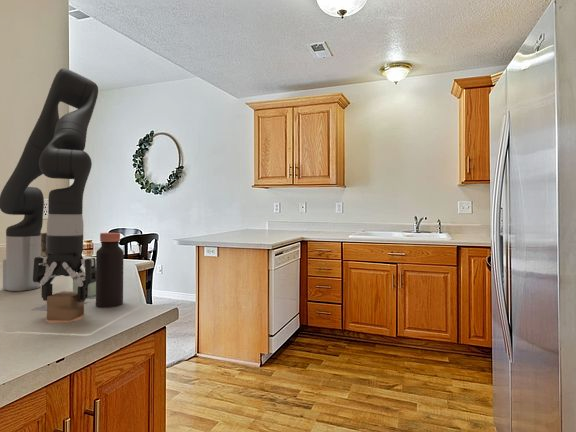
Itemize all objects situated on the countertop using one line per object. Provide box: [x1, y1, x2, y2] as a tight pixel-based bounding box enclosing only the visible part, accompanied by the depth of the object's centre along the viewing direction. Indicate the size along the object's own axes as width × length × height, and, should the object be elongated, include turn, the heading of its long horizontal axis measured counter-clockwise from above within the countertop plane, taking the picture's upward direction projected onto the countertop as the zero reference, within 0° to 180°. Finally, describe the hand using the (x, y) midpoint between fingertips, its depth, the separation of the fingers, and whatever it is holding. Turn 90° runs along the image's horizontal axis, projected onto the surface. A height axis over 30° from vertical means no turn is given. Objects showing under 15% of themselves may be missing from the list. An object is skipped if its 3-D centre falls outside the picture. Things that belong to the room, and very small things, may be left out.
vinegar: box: [95, 232, 125, 309], centre depth 102 cm, size 7×7×20 cm
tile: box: [31, 301, 90, 312], centre depth 99 cm, size 10×10×1 cm
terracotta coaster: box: [45, 313, 85, 324], centre depth 89 cm, size 8×8×1 cm
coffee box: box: [41, 232, 49, 273], centre depth 152 cm, size 9×6×16 cm
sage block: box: [72, 279, 96, 297], centre depth 112 cm, size 6×6×6 cm
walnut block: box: [46, 290, 85, 321], centre depth 89 cm, size 6×6×6 cm
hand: (64, 300), depth 89 cm, fingers open, 8 cm apart
